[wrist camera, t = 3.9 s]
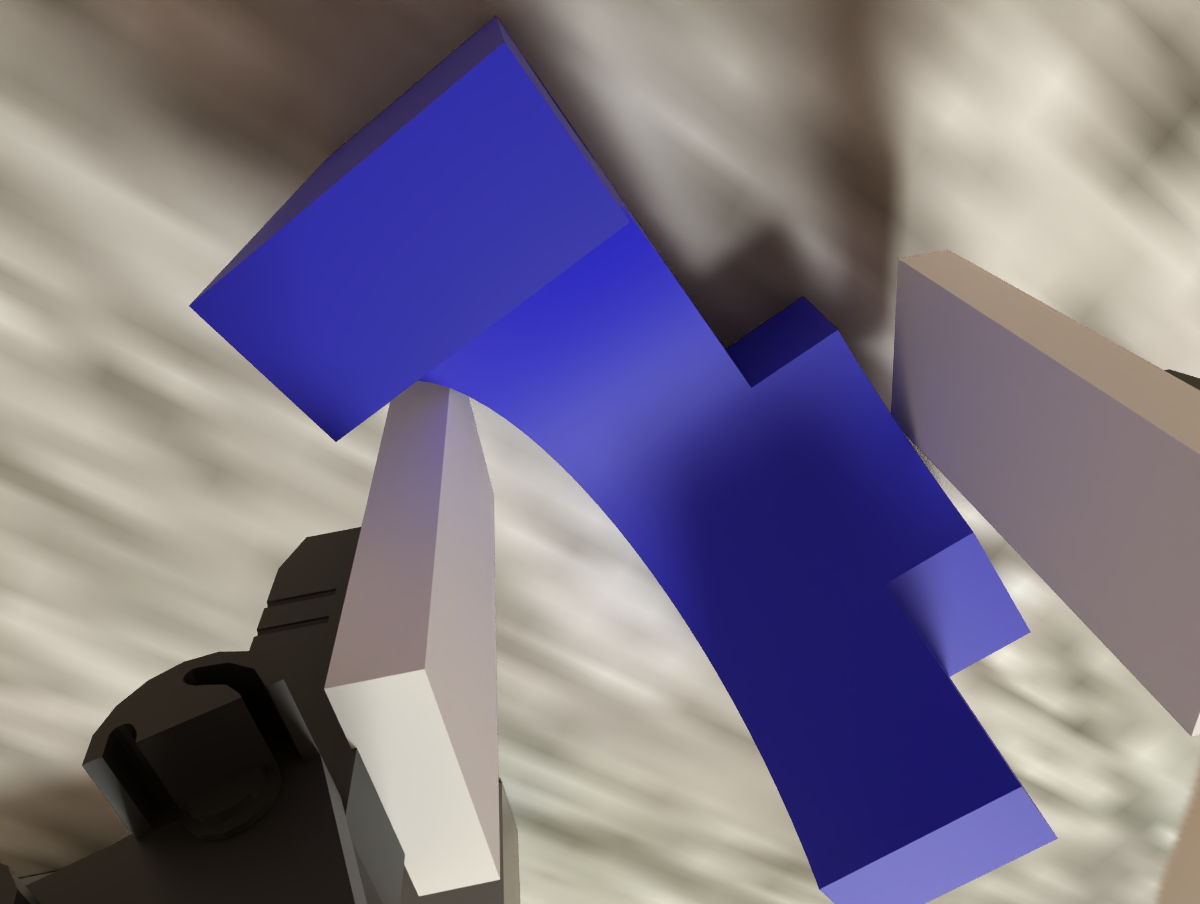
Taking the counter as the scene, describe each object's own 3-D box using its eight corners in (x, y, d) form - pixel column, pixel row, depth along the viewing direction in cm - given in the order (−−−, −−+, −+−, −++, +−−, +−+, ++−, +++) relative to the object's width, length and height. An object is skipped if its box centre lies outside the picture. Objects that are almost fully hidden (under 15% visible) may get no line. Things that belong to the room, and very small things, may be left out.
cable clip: (941, 527, 16) (1162, 787, 11) (749, 642, 17) (865, 932, 12) (587, -64, 10) (691, -114, 5) (326, 158, 11) (188, 305, 6)
